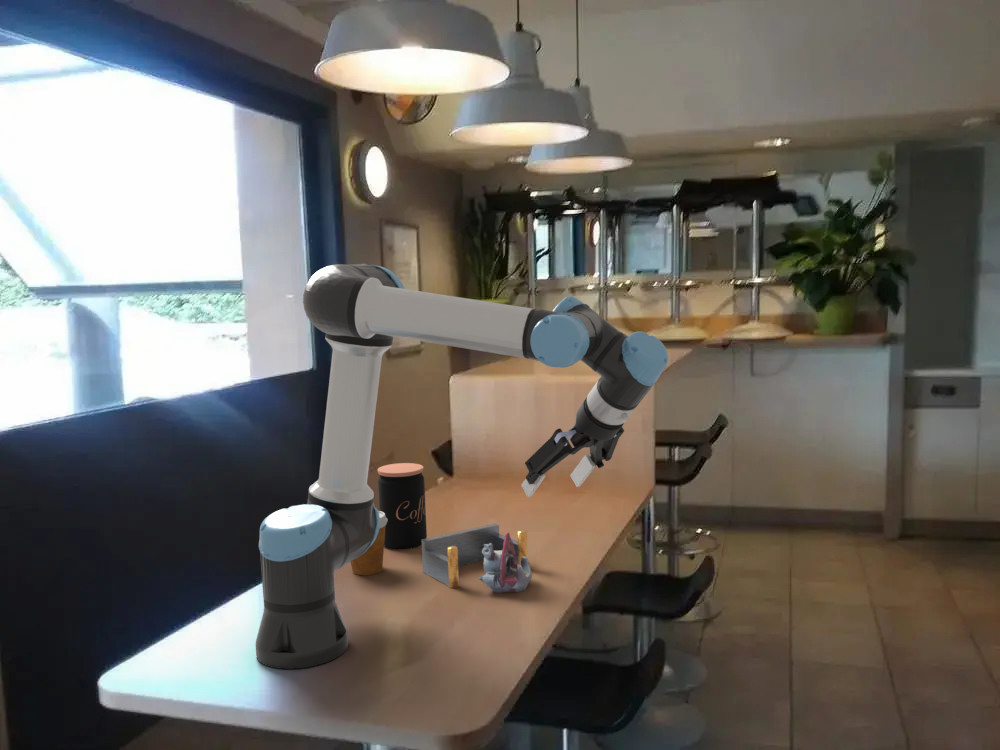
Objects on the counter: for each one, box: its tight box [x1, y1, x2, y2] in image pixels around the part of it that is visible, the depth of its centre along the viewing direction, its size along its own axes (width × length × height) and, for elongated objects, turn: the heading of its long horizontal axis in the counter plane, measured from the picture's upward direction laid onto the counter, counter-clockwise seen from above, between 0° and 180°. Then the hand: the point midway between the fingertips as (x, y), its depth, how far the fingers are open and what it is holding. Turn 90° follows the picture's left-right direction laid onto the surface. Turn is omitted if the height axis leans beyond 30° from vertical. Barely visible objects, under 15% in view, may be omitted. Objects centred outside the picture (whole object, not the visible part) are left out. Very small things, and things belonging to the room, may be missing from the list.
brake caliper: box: [478, 531, 533, 594], centre depth 174 cm, size 11×11×12 cm
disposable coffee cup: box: [350, 510, 388, 576], centre depth 186 cm, size 10×10×12 cm
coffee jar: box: [377, 462, 428, 551], centre depth 203 cm, size 11×11×18 cm
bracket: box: [421, 523, 529, 589], centre depth 183 cm, size 19×12×8 cm, turn 124°
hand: (551, 485), depth 159 cm, fingers open, 10 cm apart
